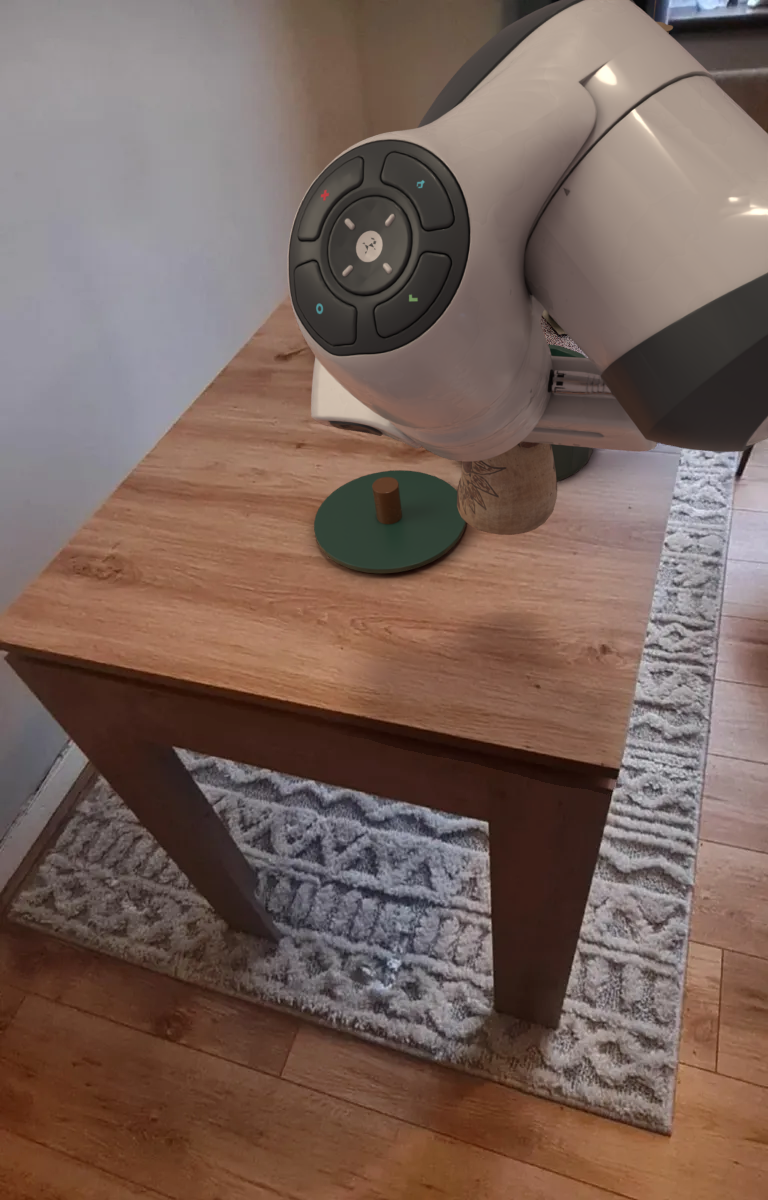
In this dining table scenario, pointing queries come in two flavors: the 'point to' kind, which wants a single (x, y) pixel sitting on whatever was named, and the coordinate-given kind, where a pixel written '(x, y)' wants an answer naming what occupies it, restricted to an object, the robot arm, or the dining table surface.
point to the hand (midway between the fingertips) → (506, 427)
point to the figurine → (509, 490)
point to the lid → (389, 521)
